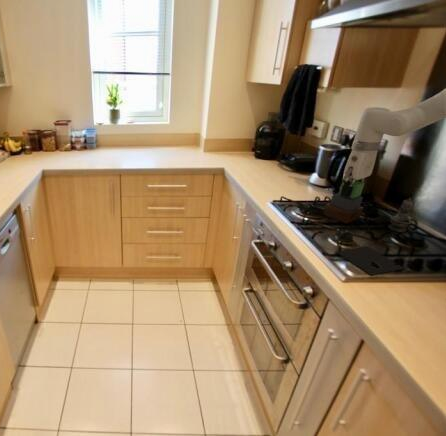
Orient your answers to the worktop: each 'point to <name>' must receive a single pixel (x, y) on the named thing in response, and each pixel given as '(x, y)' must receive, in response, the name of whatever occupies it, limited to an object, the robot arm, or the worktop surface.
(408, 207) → the salt shaker
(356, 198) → the middle block
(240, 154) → the worktop surface
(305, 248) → the worktop surface
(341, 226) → the worktop surface
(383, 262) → the mat
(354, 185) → the green cube
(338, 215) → the base block
